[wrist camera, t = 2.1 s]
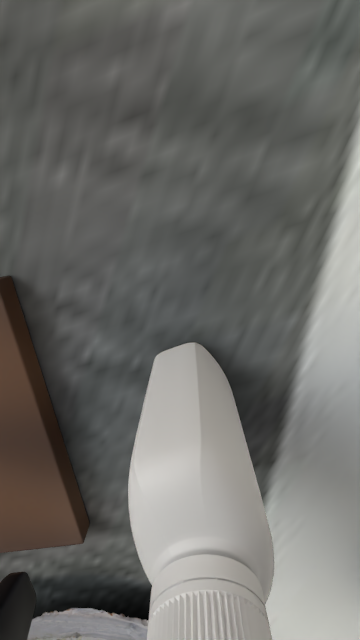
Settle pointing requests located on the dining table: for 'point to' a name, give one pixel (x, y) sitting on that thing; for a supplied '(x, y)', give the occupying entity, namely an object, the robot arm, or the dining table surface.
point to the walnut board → (31, 447)
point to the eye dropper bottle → (198, 506)
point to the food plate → (87, 626)
